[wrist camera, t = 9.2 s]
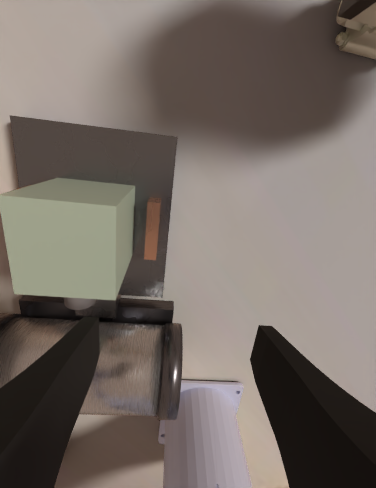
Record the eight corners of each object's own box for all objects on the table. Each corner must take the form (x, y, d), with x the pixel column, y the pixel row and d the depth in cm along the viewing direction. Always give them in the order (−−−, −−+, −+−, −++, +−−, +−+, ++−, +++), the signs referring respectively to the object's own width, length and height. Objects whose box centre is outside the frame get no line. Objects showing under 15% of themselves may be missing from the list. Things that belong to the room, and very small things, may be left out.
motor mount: (173, 356, 24) (173, 442, 17) (28, 349, 23) (-35, 439, 16) (200, 140, 17) (219, 137, 10) (-8, 113, 16) (-151, 89, 9)
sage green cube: (132, 272, 19) (115, 325, 14) (64, 267, 19) (18, 319, 13) (135, 185, 17) (116, 206, 11) (57, 177, 16) (-3, 195, 11)
